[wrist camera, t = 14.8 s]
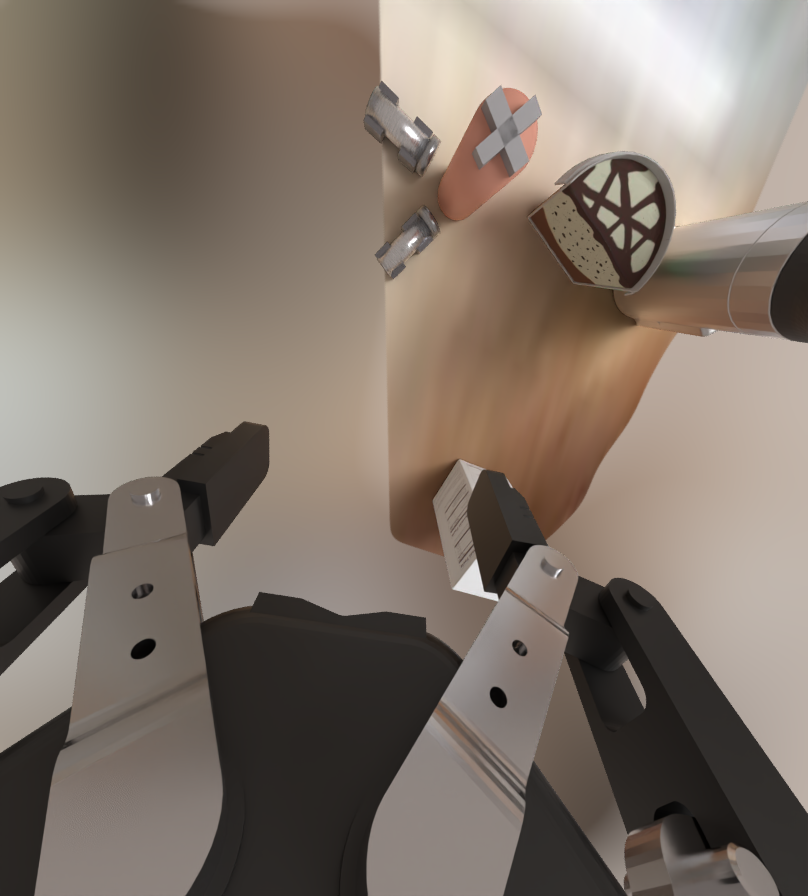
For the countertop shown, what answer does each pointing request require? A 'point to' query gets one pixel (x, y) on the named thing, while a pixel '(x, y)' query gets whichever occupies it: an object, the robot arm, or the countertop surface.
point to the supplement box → (459, 529)
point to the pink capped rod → (490, 152)
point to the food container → (609, 220)
